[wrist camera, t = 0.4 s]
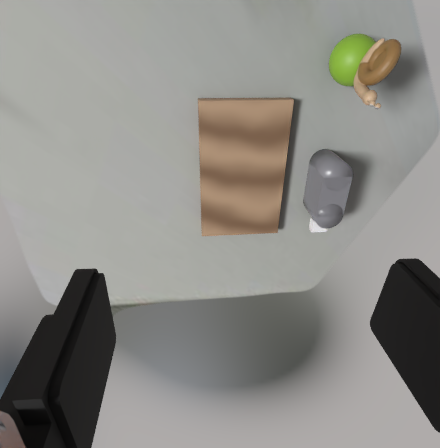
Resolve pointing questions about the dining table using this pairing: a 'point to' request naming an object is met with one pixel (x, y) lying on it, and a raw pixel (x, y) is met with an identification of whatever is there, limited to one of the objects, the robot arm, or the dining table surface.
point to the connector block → (326, 189)
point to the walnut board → (242, 163)
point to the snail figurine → (363, 63)
